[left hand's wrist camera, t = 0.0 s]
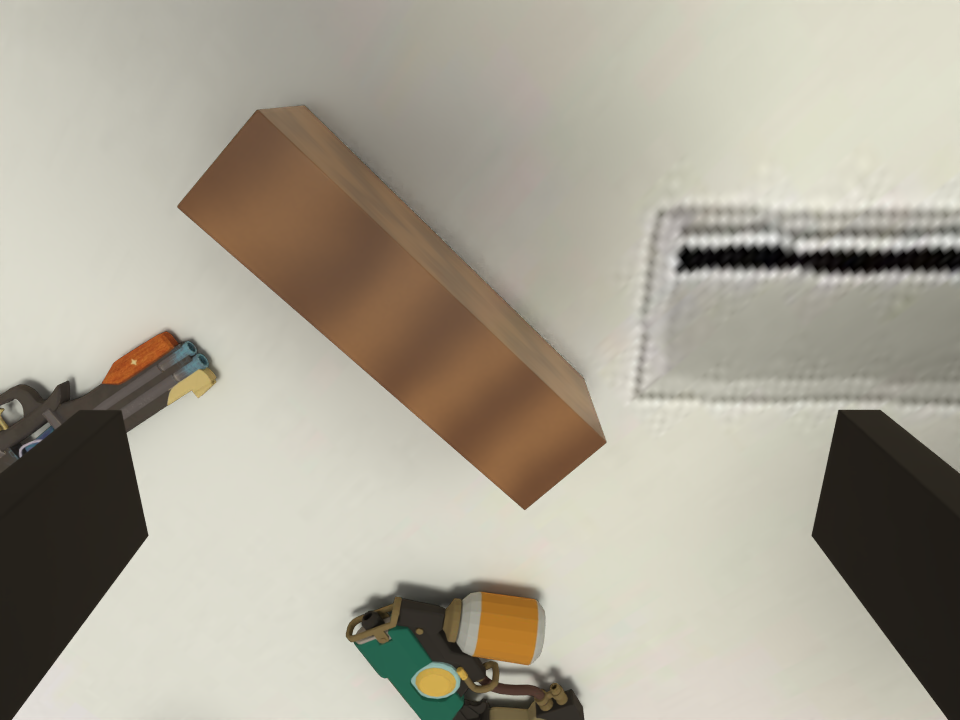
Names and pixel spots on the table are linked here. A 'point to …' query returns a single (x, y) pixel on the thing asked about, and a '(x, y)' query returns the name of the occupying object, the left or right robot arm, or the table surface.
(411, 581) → the table surface
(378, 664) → the spray gun
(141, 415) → the toy gun
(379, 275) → the bar
